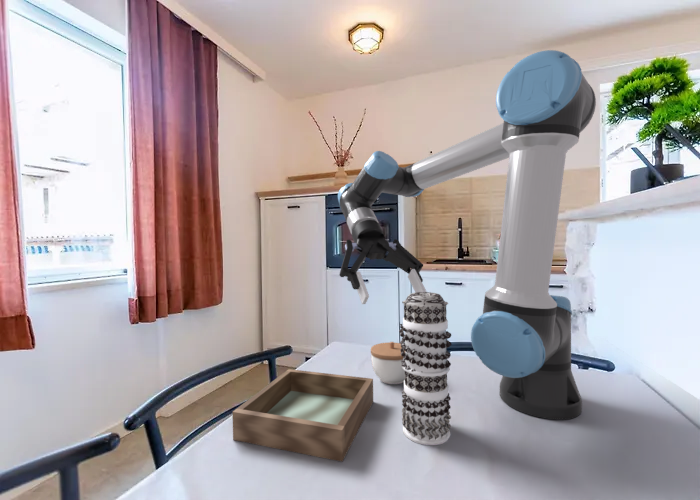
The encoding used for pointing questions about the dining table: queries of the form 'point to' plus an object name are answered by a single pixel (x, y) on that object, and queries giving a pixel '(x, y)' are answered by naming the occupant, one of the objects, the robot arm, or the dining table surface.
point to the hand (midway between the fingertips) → (395, 297)
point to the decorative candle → (425, 369)
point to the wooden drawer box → (306, 413)
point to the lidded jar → (388, 362)
